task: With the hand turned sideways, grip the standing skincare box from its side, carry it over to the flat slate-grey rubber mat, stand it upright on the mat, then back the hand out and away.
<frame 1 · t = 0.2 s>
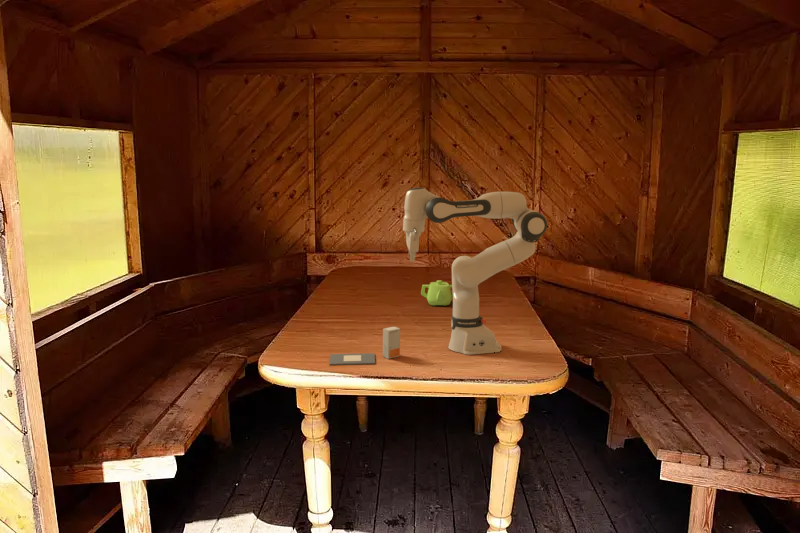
hand: (411, 260, 266), 38 cm above the table, tool pointing down, fingers open, 8 cm apart
skincare box: (391, 357, 263), on the table
rubber mat: (352, 359, 259), on the table
teapot: (439, 305, 350), on the table
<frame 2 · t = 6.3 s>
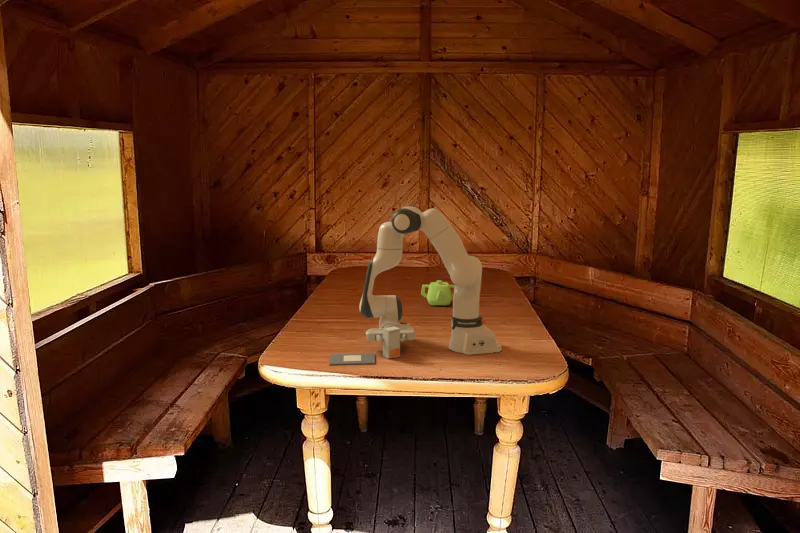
hand: (391, 340, 261), 7 cm above the table, tool horizontal, fingers closed on skincare box, 7 cm apart
skincare box: (391, 357, 263), on the table, touching gripper
everything else where it was.
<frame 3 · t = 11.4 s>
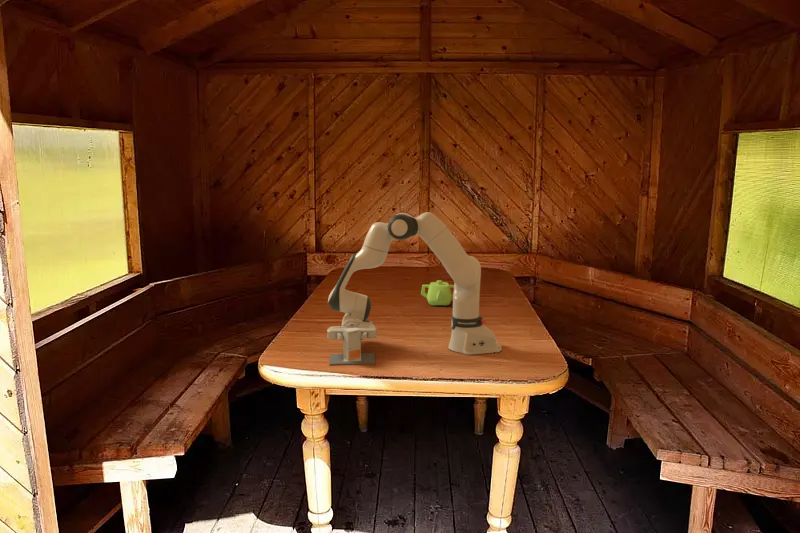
hand: (351, 338, 257), 9 cm above the table, tool horizontal, fingers closed on skincare box, 7 cm apart
skincare box: (352, 358, 259), resting on rubber mat, touching gripper
everything else where it was.
when the fingers open (9 cm above the table, at t = 12.0 s): skincare box stays where it is, resting on rubber mat.
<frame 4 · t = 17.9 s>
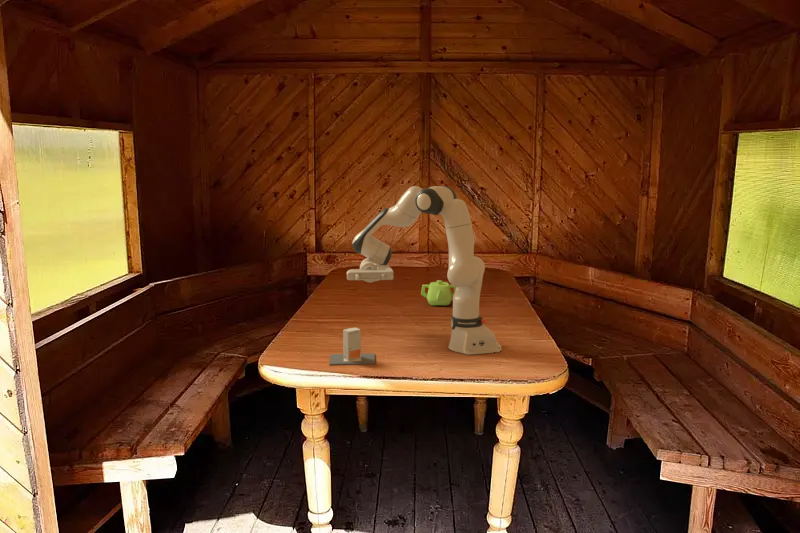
hand: (370, 278, 271), 30 cm above the table, tool horizontal, fingers open, 8 cm apart
skincare box: (352, 358, 259), resting on rubber mat
everything else where it was.
at the end: skincare box inside the target area on the rubber mat (0.1 cm from its centre), point 0.5 cm above the rubber mat's base; skincare box tilted 0°; the gripper is holding nothing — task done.
